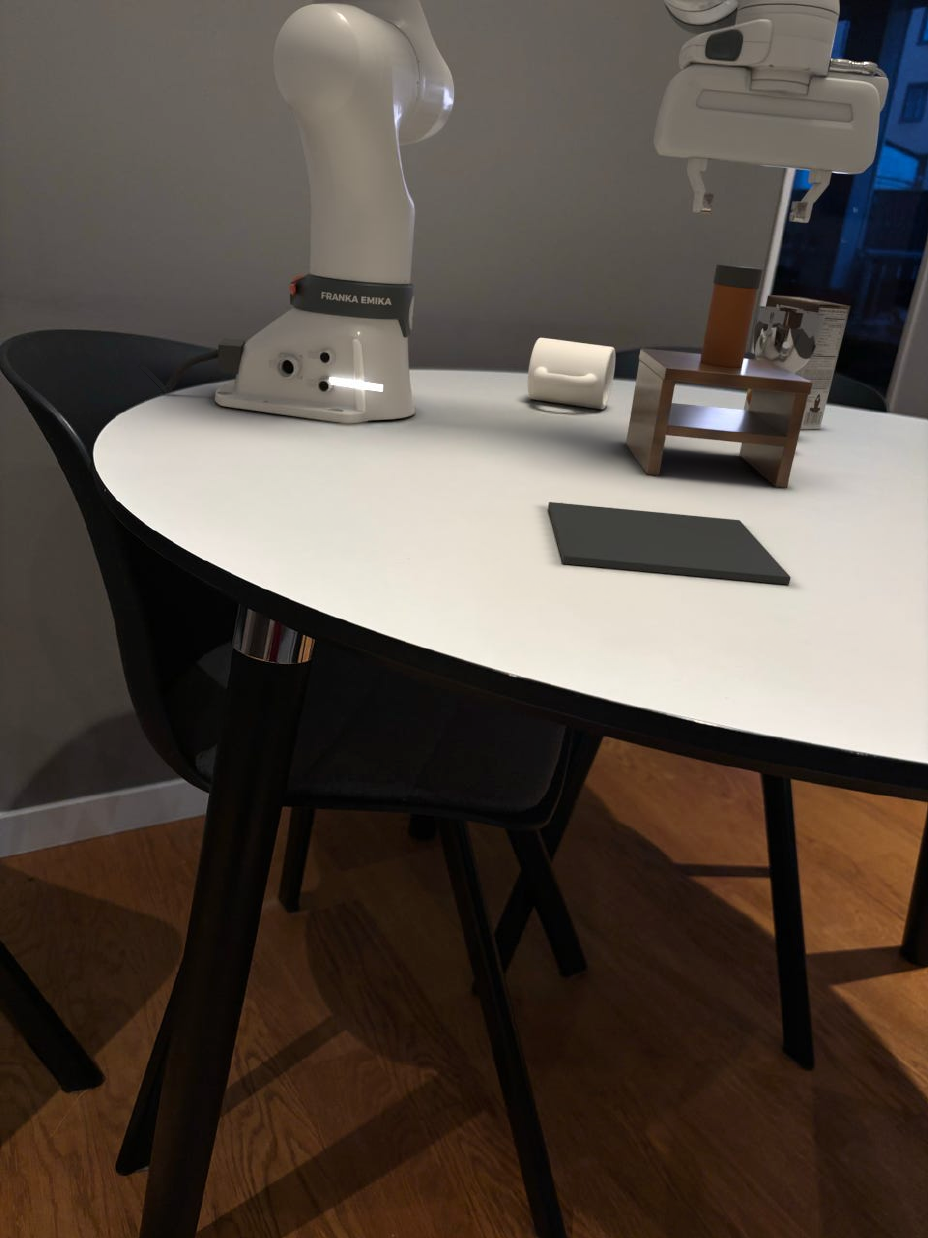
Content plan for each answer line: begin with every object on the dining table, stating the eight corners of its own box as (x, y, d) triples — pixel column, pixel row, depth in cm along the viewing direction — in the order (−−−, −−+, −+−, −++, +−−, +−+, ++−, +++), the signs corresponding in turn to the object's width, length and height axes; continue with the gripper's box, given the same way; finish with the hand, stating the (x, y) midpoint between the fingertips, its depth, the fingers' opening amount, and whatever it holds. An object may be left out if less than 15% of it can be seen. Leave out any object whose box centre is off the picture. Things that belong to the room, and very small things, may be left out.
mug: (538, 394, 135) (545, 334, 132) (609, 405, 133) (618, 344, 130) (516, 407, 124) (524, 342, 121) (593, 418, 122) (603, 353, 119)
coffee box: (739, 415, 135) (764, 293, 129) (772, 415, 138) (798, 296, 132) (789, 430, 128) (818, 302, 122) (823, 429, 131) (853, 304, 125)
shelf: (647, 475, 96) (666, 367, 92) (625, 443, 110) (640, 347, 106) (788, 489, 96) (813, 382, 92) (748, 455, 110) (768, 360, 106)
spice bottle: (704, 364, 97) (722, 265, 93) (694, 358, 101) (712, 263, 97) (748, 369, 97) (768, 270, 93) (736, 363, 101) (755, 267, 98)
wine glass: (804, 436, 125) (832, 314, 119) (787, 444, 119) (816, 315, 113) (744, 424, 129) (768, 305, 123) (724, 431, 122) (749, 306, 117)
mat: (562, 563, 68) (563, 555, 68) (547, 508, 81) (548, 501, 81) (789, 585, 69) (791, 577, 68) (738, 526, 82) (739, 519, 81)
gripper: (879, 69, 92) (845, 227, 97) (663, 47, 91) (640, 207, 96) (907, 58, 86) (869, 227, 91) (677, 35, 85) (651, 206, 90)
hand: (750, 217), depth 94 cm, fingers open, 8 cm apart
